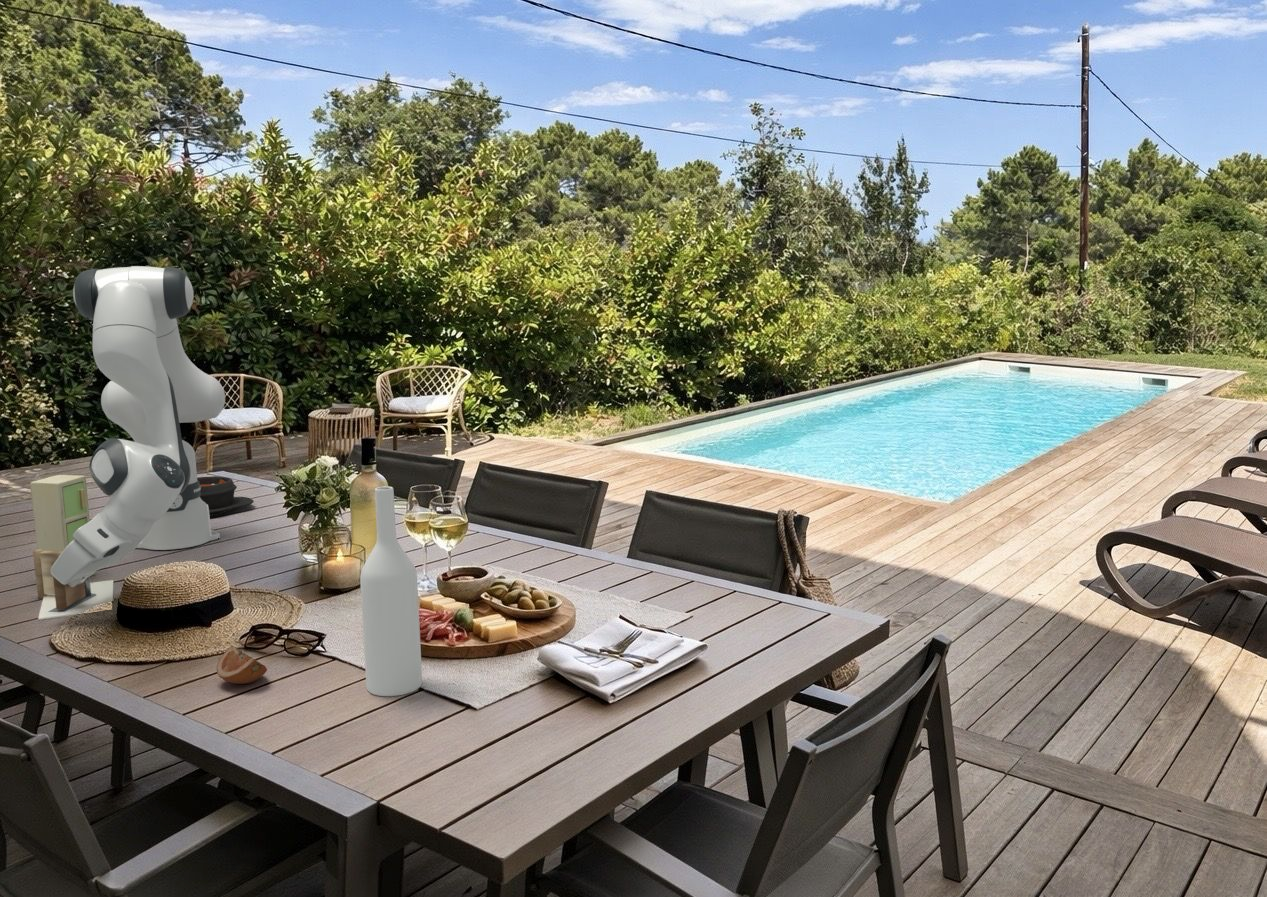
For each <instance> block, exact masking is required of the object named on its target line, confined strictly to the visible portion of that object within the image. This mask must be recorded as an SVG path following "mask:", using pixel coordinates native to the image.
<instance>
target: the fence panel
mask: <svg viewBox="0 0 1267 897" xmlns="http://www.w3.org/2000/svg"><path fill="white" fill-rule="evenodd" d="M54 563H55V562H52V566H53V564H54ZM53 582H54V591H55V600H56V609H57V610H61V609H65V608H66V607H68V606H69V605H71V604H73V603H75V602H76V601H78V600H80V599H81V598H83V597H85V596H86V595H85V585H84V582H83V583H81V584H79V585H77V586H75V587H70V586H69V585H68V584H66V585H64V584H62V583H60V582H59V581H58V580H57V579H56V578H55V577H54V576H53Z"/></svg>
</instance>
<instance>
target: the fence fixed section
mask: <svg viewBox="0 0 1267 897" xmlns="http://www.w3.org/2000/svg"><path fill="white" fill-rule="evenodd" d="M62 552H63V551H42V549H37V548H34V549H32V556H33V563H34V565H33V566H34V572H35V573H34V574H35V583H36V591H37V599H39V598H42V599H43V597H45V596H47V594H55V591H54V582H53V575H52V574H51V568H52V562H55V561H56V560H57V559H58V557H59V556H60V555H61V553H62ZM90 577H91V576H89V577H87V578H86V580H85V581H84V585H85V595H86V596H85V597H90V596H91V586H90V583H91V578H90Z"/></svg>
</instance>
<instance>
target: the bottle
mask: <svg viewBox="0 0 1267 897" xmlns="http://www.w3.org/2000/svg"><path fill="white" fill-rule="evenodd" d="M394 492H395V491H394V487H393V486H385V485H384V486H378V487H375V489H374V499H375V501H374V502H375V518H376V519H375V520H376V521H375V522H376V524H375V525H376V542H375V544H374V546H373V549H372V550H371V552H370V554H369V555H368V558H367V560H365V563H364V564H363V567H362V569H361V571H360V577H359V579H360V580H359V581H360V582H359V583H360V600H361V614H362V615H361V616H362V617H361V618H362V630H363V631H362V632H363V633H362V634H363V647H364V648H363V649H364V650H363V652H364V665H365V666H364V667H365V685H366V689H367V691H368V693H370V694H372V695H375V696H377V697H378V696H379V697H396V696H403V695H404V696H405V695H406V694H407V695H408V694H410V693H413V692H416V691H417V690H419V689H420V687H421V686H422V684H423V672H422V670H423V669H422V652H421V651H422V650H421V630H420V628H421V627H420V611H419V609H420V608H419V607H420V606H419V590H418V588H419V587H418V574H417V568H416V566H415V565H414V563H413V561H412V560H411V558H410V557H409V556H408V554H407V553H406V551H405V550H404V548H403V547H402V546H401V544H400V543H399V540H398V539H397V531H396V530H397V528H396V513H395V511H396V510H395V493H394Z"/></svg>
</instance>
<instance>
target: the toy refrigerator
mask: <svg viewBox="0 0 1267 897" xmlns="http://www.w3.org/2000/svg"><path fill="white" fill-rule="evenodd" d="M29 487H30V495H31V504H32V514H33V521H34V523H33V524H34V531H35V532H34V533H35V538H36V539H35V541H36V549H42V551H64V549H65V548H66V547H67V546H68V544H69V543H70V542H71V541H73V540H74V539H75V538H74V537H73V534H74V533H75V531H76V530H77V529H78V528H80V527H81V526H83V525H84V524H86V523H87V522H89V521H91V517H90V506H89V497H88V496H89V494H88V486H87V477H86V476H85V475H77V474H75V475H72V474H57V475H52V476H48V477H45V478H42V479H38V480H34V481H31V482H30V484H29ZM94 575H96V571H95V572H94V573H92V574H91V575H90V577H91V576H94Z"/></svg>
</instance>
